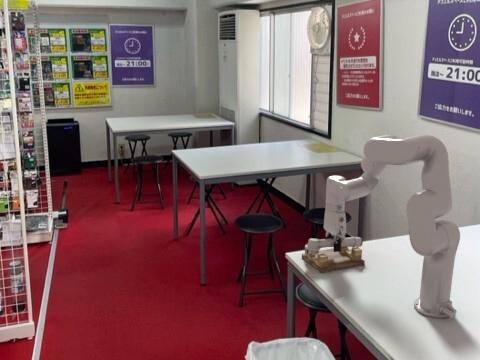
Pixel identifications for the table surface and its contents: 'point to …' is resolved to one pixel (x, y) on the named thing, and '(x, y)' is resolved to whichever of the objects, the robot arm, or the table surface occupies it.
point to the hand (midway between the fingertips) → (333, 248)
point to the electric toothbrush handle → (331, 244)
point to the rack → (335, 259)
